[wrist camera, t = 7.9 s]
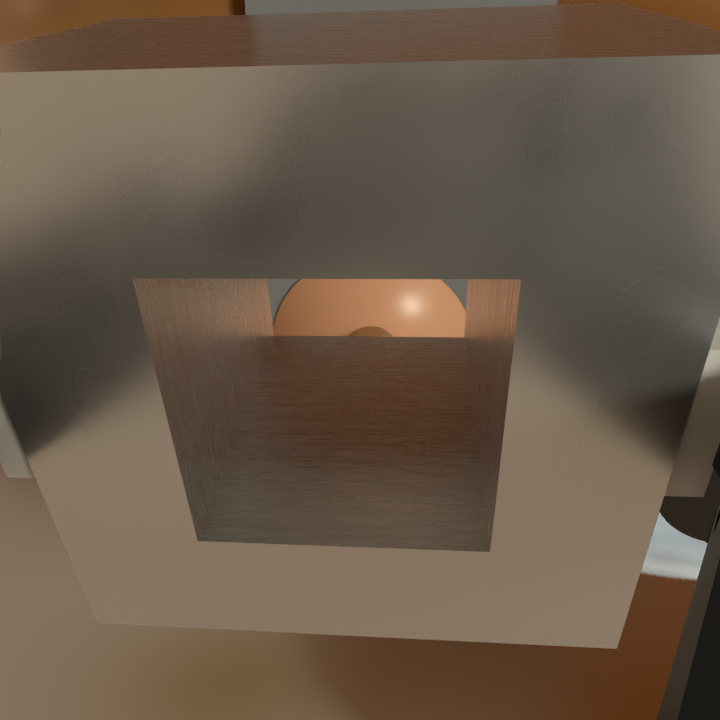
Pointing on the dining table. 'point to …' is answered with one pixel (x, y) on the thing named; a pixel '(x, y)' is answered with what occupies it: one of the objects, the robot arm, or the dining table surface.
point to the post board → (370, 296)
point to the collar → (360, 353)
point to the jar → (693, 510)
